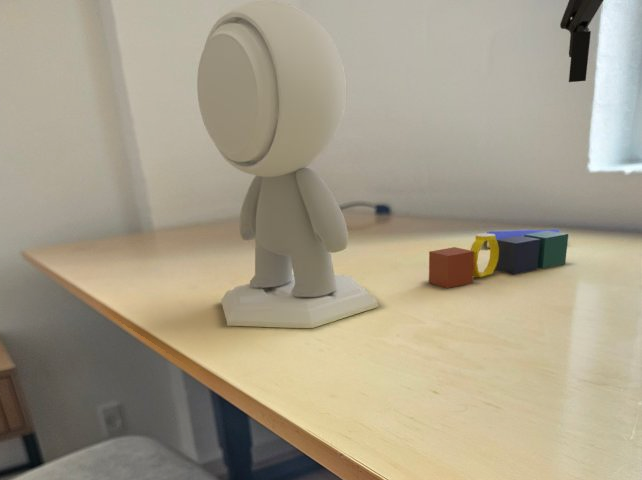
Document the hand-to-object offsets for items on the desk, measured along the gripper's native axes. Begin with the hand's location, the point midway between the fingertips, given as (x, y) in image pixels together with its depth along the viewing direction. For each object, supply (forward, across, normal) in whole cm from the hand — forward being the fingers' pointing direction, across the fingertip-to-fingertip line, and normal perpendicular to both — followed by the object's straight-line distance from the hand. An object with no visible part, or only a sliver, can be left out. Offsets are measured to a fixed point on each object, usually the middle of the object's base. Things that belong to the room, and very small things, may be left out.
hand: (613, 78), depth 95 cm
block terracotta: (+25, +1, -29) cm, 38 cm away
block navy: (+25, +1, -17) cm, 30 cm away
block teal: (+25, +1, -11) cm, 27 cm away
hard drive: (+25, -14, -2) cm, 29 cm away
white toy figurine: (+25, -3, -52) cm, 58 cm away
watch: (+25, +1, -23) cm, 34 cm away
